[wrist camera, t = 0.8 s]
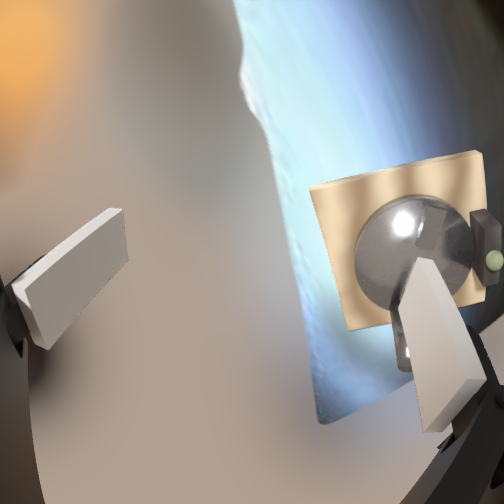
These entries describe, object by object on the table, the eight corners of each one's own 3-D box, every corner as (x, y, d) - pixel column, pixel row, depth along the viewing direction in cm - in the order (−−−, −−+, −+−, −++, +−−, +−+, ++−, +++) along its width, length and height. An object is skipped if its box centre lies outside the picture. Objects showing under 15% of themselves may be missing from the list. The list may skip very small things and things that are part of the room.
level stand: (475, 150, 31) (508, 170, 23) (480, 292, 40) (499, 331, 32) (310, 186, 38) (305, 214, 31) (347, 321, 47) (347, 364, 40)
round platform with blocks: (465, 182, 31) (511, 226, 21) (469, 290, 37) (496, 351, 27) (340, 210, 37) (344, 264, 26) (364, 313, 43) (368, 380, 33)
